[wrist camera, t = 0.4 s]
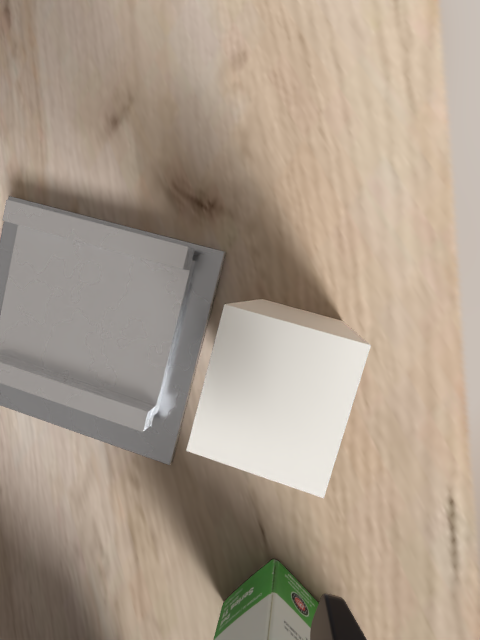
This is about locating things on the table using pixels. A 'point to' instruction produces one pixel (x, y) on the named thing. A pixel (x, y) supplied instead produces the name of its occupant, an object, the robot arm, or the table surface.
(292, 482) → the block
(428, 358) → the table surface
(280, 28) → the table surface
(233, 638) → the ink box
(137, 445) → the rail panel
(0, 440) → the table surface
